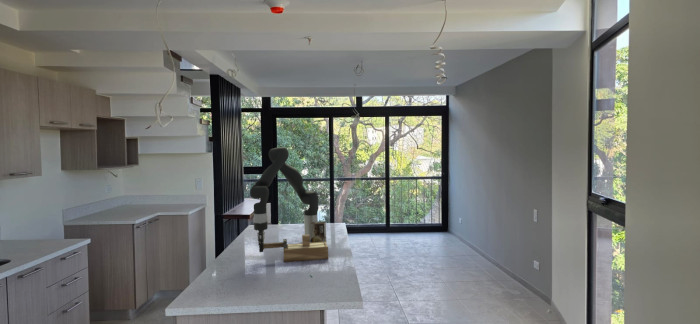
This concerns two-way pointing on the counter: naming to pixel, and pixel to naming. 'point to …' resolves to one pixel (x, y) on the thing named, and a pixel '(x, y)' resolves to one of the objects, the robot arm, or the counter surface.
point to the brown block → (272, 245)
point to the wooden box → (304, 253)
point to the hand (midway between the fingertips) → (261, 250)
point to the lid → (306, 243)
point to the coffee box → (318, 232)
